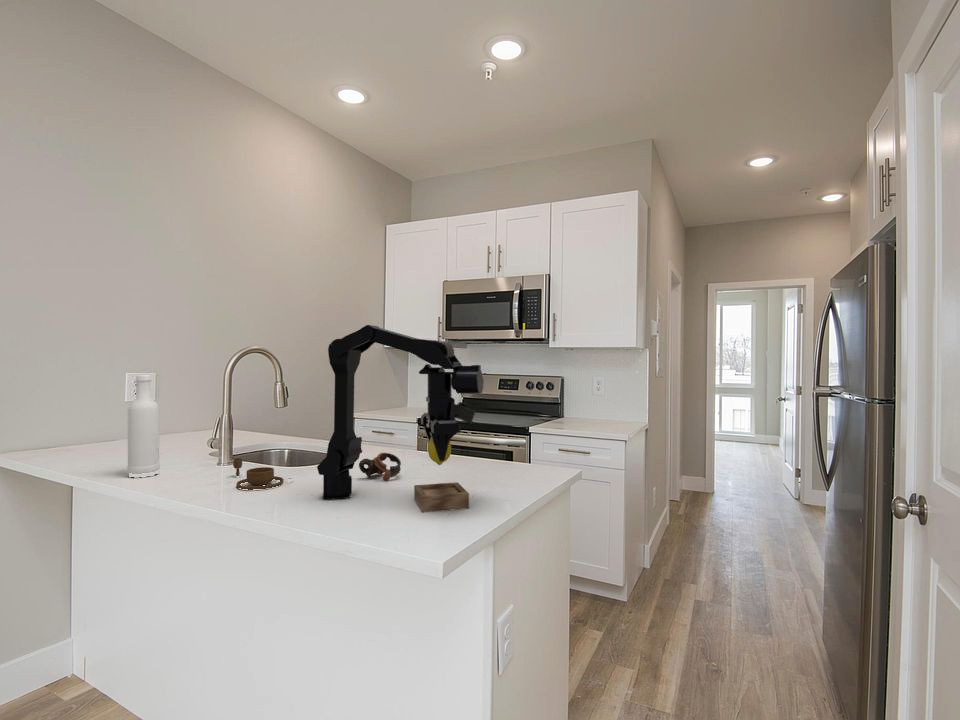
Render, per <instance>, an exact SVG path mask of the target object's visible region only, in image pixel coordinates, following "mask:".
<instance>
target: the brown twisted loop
mask: <svg viewBox="0 0 960 720" xmlns="http://www.w3.org/2000/svg"><path fill="white" fill-rule="evenodd" d="M387 458H388V459H389V461H390V462H392V463H396V465H393V466H392V465H390V467H389V468H387V464H386V463H384V461H385V460H387ZM365 465H367V467H365ZM401 465H402V463H401V459H400V458H399V457H398V456H396V455H395V454H393V453H389V452H380V453H378V454H377V456H376V457H373V459H369V458H363V459H361V460H360V461H359V463H358V468H359V470H360V472H361V473H362V474H365V475H366V477H367V478H370V477H371V476H372V475H375V474H378V475H383V476H382V480H383V481H385V482H388V481H389V480H390V479H391V478H394V477H395V476H397V475H398V474H400V471H401ZM382 473H383V474H382Z"/></svg>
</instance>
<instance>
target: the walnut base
mask: <svg viewBox="0 0 960 720" xmlns="http://www.w3.org/2000/svg"><path fill="white" fill-rule="evenodd" d="M413 485H414V484H413ZM413 492H414V495H413V496H414V501H415V502H416V505H417V506H418V508H419V510H420V511H421V513H430V512H431V511H432V512H443V511H452V510H451V509H455V510H464V509H463V508H467V509H469V508H470V494H469V492H468V490H466V489H465V488H464V487H463V486H462V485H461V484H460V483H459V482H458V481H455V482H442V483H440V482H439V483H430V484H429V483H428V484H426V483H425V484H415V485H414V490H413ZM442 510H443V511H442Z"/></svg>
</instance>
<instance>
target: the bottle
mask: <svg viewBox="0 0 960 720" xmlns="http://www.w3.org/2000/svg"><path fill="white" fill-rule="evenodd" d="M135 377H136V378H135V385H136V386H135V387H136V390H135V391H136V393H135V394H136V398H135V399H134V400H133V401H132V402H131V403H130V404H129V407H128V408H127V467H126V468H127V470H126V471H127V474H128V473H132V474H142V473H150V472H155V471H157V470H159V471H160V468H161V467H160V408H159V405H158V402H156V401H155V400H154V399H152V381H153V380H152V379H153V378H152V375H151V374H137V375H136V376H135Z"/></svg>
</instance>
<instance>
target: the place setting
mask: <svg viewBox="0 0 960 720" xmlns="http://www.w3.org/2000/svg"><path fill="white" fill-rule="evenodd" d="M232 465H233V466H232V467H233V469H235V470H236V472H235V475H236V476H240V469H241V468H242V467H243V458H241V457H236V458H233V461H232ZM273 479H275V480H280V482H276V483H275V482H274V483H272V484H270V483H271V482H273V481H272V480H273ZM289 479H292V478H290V477H289ZM245 482H248V483H247V484H249V485H253V486H249V485H248V486H247V485H242V486H241V485H240V484H241V483H245ZM282 483H284V478H283V477H281V476H275V468H273V467H270V466H269V467H268V466H267V467H266V466H263V467H261V466H260V467H253V468H249V469H248V470H246V478H245V479H244V478H243V479H240V480H238V481H237V482H236V485H235V486H236V488H237V487H238V488H241V489H248V490H253V489H266V488H272V487H276V486H278V487H280V486H282V485H283V484H282ZM267 484H268V485H267ZM281 484H282V485H281ZM263 485H265V486H263ZM279 485H280V486H279ZM238 488H237V489H238ZM276 488H277V487H276ZM272 489H273V488H272ZM266 490H267V489H266Z"/></svg>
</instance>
